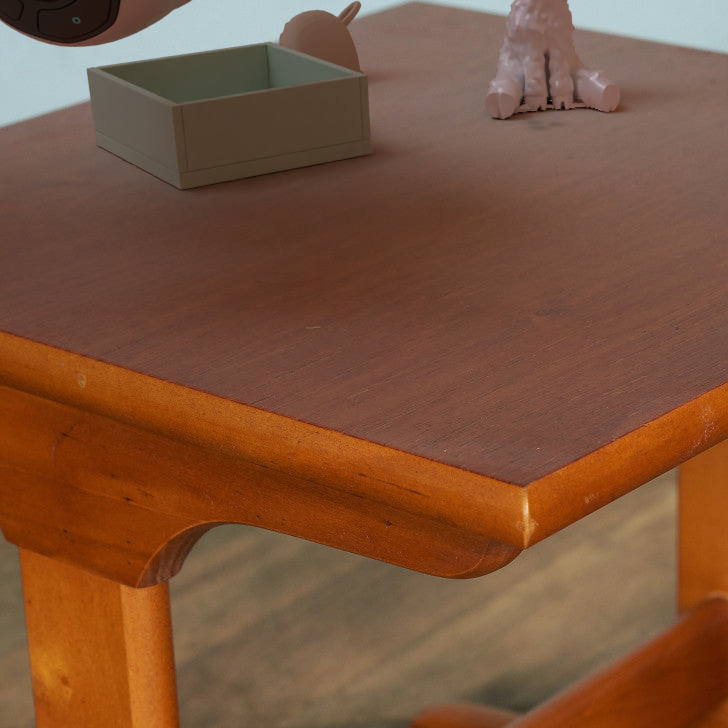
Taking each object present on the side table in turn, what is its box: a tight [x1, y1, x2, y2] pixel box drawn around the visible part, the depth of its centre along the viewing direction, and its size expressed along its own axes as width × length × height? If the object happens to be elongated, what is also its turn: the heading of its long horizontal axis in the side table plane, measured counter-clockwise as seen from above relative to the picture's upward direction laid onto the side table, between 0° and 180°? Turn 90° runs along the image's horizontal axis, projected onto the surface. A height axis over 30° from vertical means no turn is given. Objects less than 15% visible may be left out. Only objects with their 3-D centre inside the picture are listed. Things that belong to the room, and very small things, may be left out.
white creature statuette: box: [485, 0, 621, 120], centre depth 115 cm, size 10×9×12 cm
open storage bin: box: [86, 41, 372, 190], centre depth 107 cm, size 13×13×5 cm
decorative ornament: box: [278, 0, 365, 74], centre depth 123 cm, size 4×8×5 cm, turn 133°
